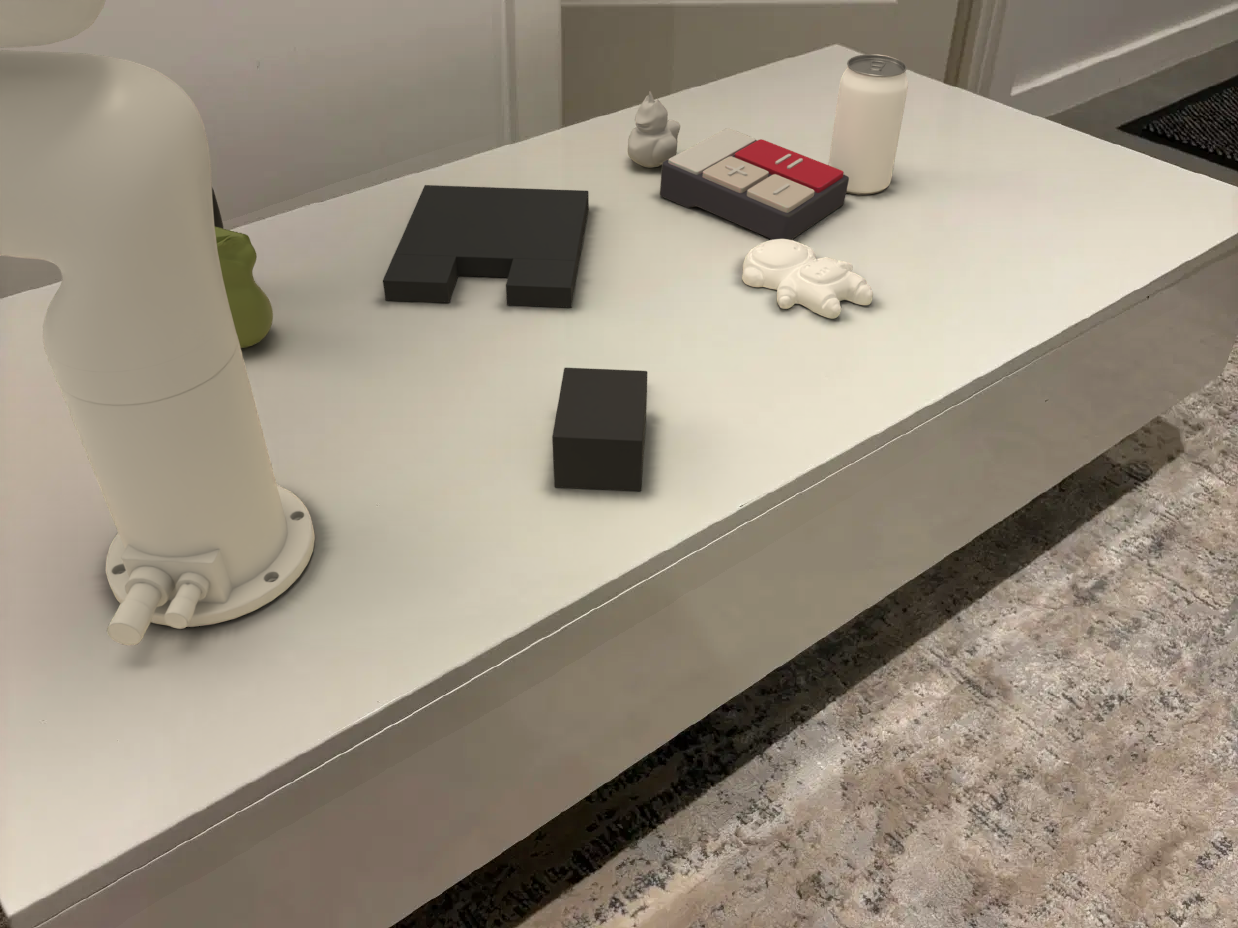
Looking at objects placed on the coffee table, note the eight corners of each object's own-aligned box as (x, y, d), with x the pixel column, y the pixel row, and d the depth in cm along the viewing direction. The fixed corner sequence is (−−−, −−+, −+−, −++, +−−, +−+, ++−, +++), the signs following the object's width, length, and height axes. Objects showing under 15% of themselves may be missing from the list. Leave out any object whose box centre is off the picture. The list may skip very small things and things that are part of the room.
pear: (194, 350, 87) (161, 238, 80) (238, 317, 91) (209, 208, 84) (251, 367, 85) (221, 254, 79) (292, 333, 89) (268, 223, 82)
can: (821, 190, 109) (837, 72, 101) (832, 164, 114) (848, 49, 106) (885, 200, 108) (907, 81, 100) (894, 173, 112) (915, 57, 105)
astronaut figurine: (809, 331, 90) (814, 300, 88) (722, 268, 97) (724, 238, 95) (887, 301, 93) (893, 270, 91) (797, 243, 101) (801, 213, 99)
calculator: (790, 210, 98) (660, 155, 105) (783, 251, 101) (657, 195, 108) (852, 169, 105) (726, 120, 111) (844, 209, 108) (722, 159, 114)
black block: (641, 491, 74) (642, 440, 72) (554, 487, 75) (552, 436, 72) (648, 388, 84) (649, 339, 81) (570, 384, 84) (569, 336, 81)
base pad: (571, 308, 92) (570, 287, 91) (385, 300, 93) (382, 280, 92) (588, 209, 106) (588, 190, 105) (426, 203, 107) (424, 184, 105)
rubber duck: (613, 163, 114) (614, 88, 109) (658, 145, 117) (661, 72, 112) (649, 180, 111) (651, 104, 106) (694, 162, 114) (698, 87, 109)
